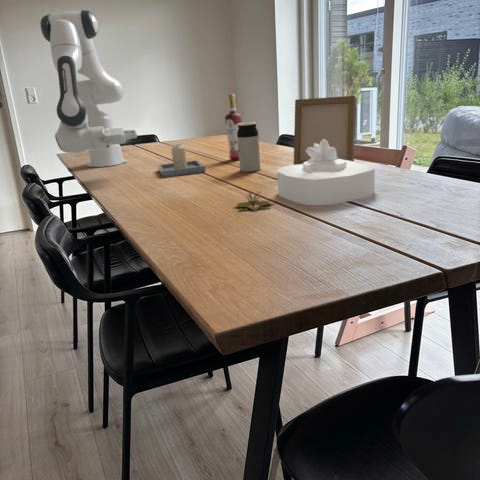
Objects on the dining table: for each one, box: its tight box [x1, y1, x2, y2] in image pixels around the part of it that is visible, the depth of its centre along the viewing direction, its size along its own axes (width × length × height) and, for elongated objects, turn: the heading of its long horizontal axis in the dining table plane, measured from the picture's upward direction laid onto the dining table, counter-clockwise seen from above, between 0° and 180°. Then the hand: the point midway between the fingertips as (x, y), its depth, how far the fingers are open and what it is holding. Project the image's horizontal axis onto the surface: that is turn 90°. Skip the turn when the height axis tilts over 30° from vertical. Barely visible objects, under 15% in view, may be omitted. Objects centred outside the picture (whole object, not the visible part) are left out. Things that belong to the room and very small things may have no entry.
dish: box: [157, 159, 206, 179], centre depth 190 cm, size 17×17×2 cm
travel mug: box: [237, 121, 261, 173], centre depth 178 cm, size 8×8×18 cm
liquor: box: [224, 93, 243, 161], centre depth 204 cm, size 7×7×28 cm
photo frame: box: [293, 95, 357, 165], centre depth 175 cm, size 15×22×25 cm
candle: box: [171, 143, 187, 169], centre depth 189 cm, size 6×6×10 cm
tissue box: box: [276, 139, 376, 206], centre depth 136 cm, size 25×25×16 cm
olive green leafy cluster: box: [233, 190, 275, 212], centre depth 129 cm, size 12×12×5 cm
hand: (136, 133), depth 184 cm, fingers open, 8 cm apart
